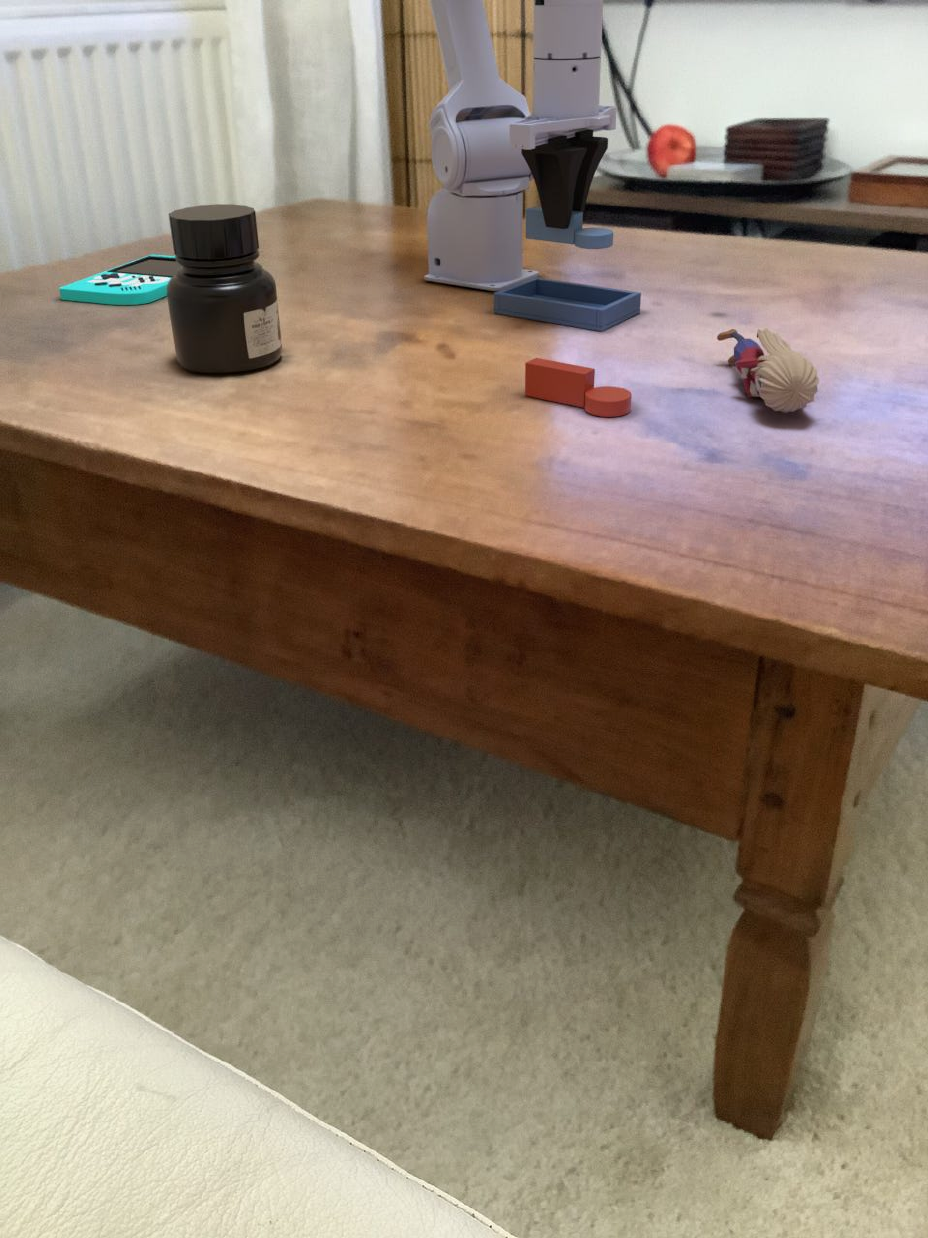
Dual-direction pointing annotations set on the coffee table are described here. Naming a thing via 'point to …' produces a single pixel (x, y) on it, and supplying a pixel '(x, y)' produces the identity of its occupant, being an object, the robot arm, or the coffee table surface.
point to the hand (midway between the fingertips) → (562, 225)
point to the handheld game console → (125, 283)
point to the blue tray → (567, 303)
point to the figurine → (773, 371)
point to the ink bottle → (221, 292)
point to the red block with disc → (574, 388)
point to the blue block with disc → (567, 231)
